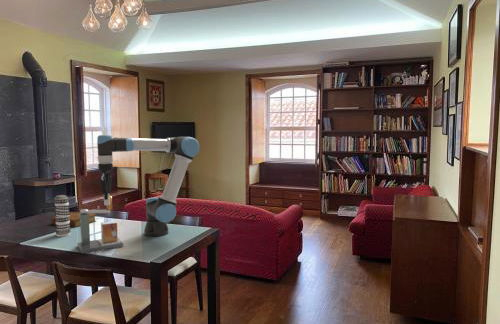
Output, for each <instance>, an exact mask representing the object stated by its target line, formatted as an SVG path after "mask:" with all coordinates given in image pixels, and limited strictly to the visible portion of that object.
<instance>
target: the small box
mask: <svg viewBox="0 0 500 324" xmlns="http://www.w3.org/2000/svg"><path fill="white" fill-rule="evenodd" d="M100 227H101V228H100V230H101V239H102V241H103V242H110V241H117V240H118V238H119V236H118V222H117V221H116V220H113V221H106V222H100Z"/></svg>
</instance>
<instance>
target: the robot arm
mask: <svg viewBox="0 0 500 324" xmlns="http://www.w3.org/2000/svg"><path fill="white" fill-rule="evenodd" d="M96 145H97V157H96V159H97V161H98V162H97V163H98V164H97V165H98V166H97V167H98V168H97V169H98V171H101V174H100V177H99V180H100V187H101V194H103V205H104V206H107V205H110V196H111V195H110V194H111V193H112V176H113V174H112V173H111V171H112V170H113V168H114V166H113V165H114V164H113V162H114V161H113V160H114V159H113V153H117V152H120V153H121V152H127V153H129V152H133V151H134V152H135V151H139V152H141V151H143V152H166V153H170V154H171V153H172V154H174V157H175V159H174V162H173V164H172V168H171V170H170V173H169V175H168V179H166V180H167V181H166V184H165V186H164V188H163V189H164V190H163V191H162V194H161V195H160V196H157V197H148V198H146V201H145V207H146V209H145V211H146V223H145V226H144V230H143V232H144V235H145V236H147V237H160V236H165V235H167V234H169V227H168V224H167V223H169V222H171V221H173V220H174V219H175V217H176V215H177V209H176V206H177V200H176V199H177V197H178V195H179V191H180V188H181V186H182V183H183V180H184V178H185V174H186V172H187V169H188V166H189V164H190V163H192V162H193V160H194V157H196V155H198V153H199V151H200V143H199V141H198V140H197V139H196V138H194V137H191V136H177V137H166V138H137V137H136V138H134V137H113V136H112V135H110V134H100V135H98V136H97V141H96Z"/></svg>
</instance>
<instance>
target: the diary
mask: <svg viewBox="0 0 500 324" xmlns="http://www.w3.org/2000/svg"><path fill="white" fill-rule="evenodd" d="M79 213H80V211H79V212H78V211H70V212H69V214H70V216H69V220H70V227H69V228H79V227H80V218H79ZM89 214H90V218H89V224H92V223H95V222H97V220H96V216H97V213H89ZM50 221H51V225H54V226H55V225H56V218H55V215H53V216H52V217H51V218H50Z"/></svg>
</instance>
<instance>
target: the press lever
mask: <svg viewBox="0 0 500 324" xmlns="http://www.w3.org/2000/svg"><path fill="white" fill-rule="evenodd" d="M111 211H113V196H112V195H110V205H106V209H88V208H82V209H80V210H79V212H80V214H88V213H89V214H110V213H111Z"/></svg>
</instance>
